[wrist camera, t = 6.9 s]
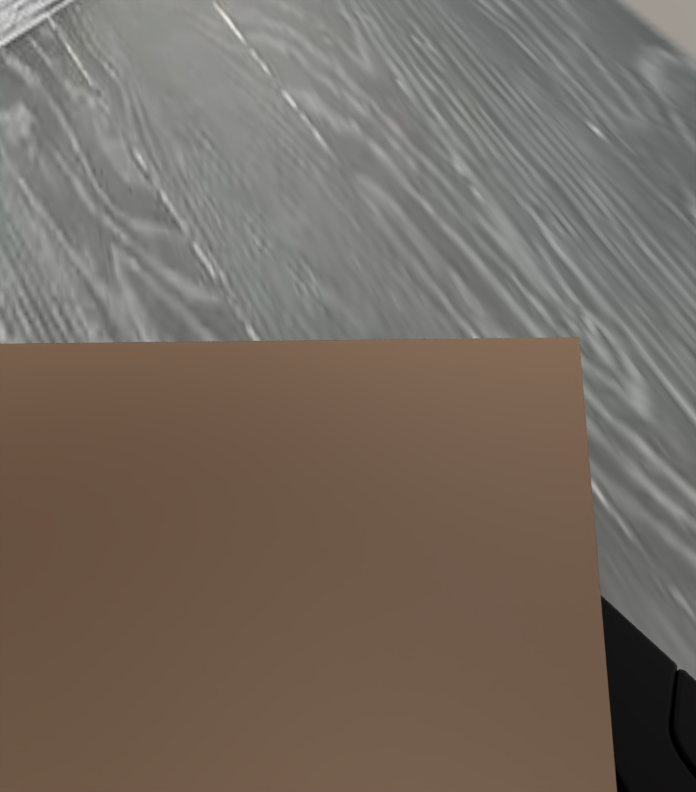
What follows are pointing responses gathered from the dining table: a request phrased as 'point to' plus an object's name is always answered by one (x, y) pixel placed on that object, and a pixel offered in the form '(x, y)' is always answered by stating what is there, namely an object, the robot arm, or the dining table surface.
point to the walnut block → (299, 568)
